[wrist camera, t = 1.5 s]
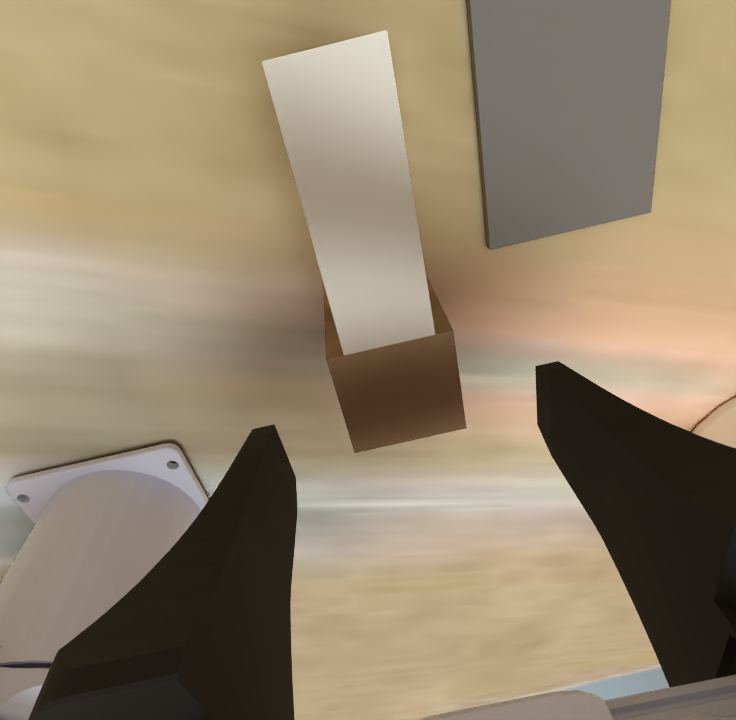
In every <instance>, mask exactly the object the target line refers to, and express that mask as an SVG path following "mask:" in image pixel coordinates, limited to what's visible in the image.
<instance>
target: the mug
mask: <svg viewBox="0 0 736 720" xmlns="http://www.w3.org/2000/svg"><path fill="white" fill-rule="evenodd" d="M692 433H694V434H697V435H699V436H702V437H704V438H707V439H710V440H712V441H715V442H718V443H721V444H724V445H727V446H730V447H733V448H736V397H734V398H733V399H731V400H729V401H728V402H726V403H724V404H723V405H721V406H719V407H718V408H717V409H716V410H715V411H713V412H712V413H711V414H710V415H709V416H708V417H706V418H705V419H704V420H703V421H702V422H700V423H699V424H698V425H697V427H696V428H695V429H694V430H693V431H692Z"/></svg>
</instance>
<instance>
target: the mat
mask: <svg viewBox="0 0 736 720" xmlns="http://www.w3.org/2000/svg"><path fill="white" fill-rule="evenodd" d="M466 2H467V14H468V26H469V37H470V49H471V61H472V73H473V85H474V96H475V108H476V120H477V132H478V144H479V155H480V167H481V179H482V191H483V203H484V214H485V226H486V238H487V247H488V248H489V249H490V250H492V249H496V248H501V247H505V246H509V245H513V244H518V243H522V242H526V241H530V240H535V239H539V238H543V237H548V236H552V235H556V234H560V233H565V232H569V231H573V230H578V229H582V228H586V227H590V226H595V225H599V224H603V223H608V222H612V221H616V220H620V219H625V218H629V217H633V216H638V215H642V214H646V213H650V212H651V207H652V196H653V186H654V175H655V165H656V154H657V144H658V133H659V123H660V112H661V102H662V91H663V81H664V70H665V60H666V49H667V39H668V28H669V18H670V7H671V0H466Z"/></svg>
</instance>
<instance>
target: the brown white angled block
mask: <svg viewBox="0 0 736 720" xmlns="http://www.w3.org/2000/svg"><path fill="white" fill-rule="evenodd" d="M262 65H263V68H264V72H265V75H266V79H267V83H268V86H269V90H270V93H271V97H272V100H273V104H274V108H275V111H276V115H277V118H278V122H279V125H280V129H281V133H282V136H283V140H284V143H285V147H286V150H287V154H288V158H289V161H290V165H291V168H292V172H293V175H294V179H295V183H296V186H297V190H298V193H299V197H300V200H301V204H302V208H303V211H304V215H305V218H306V222H307V225H308V229H309V233H310V236H311V240H312V243H313V247H314V250H315V254H316V258H317V261H318V265H319V268H320V272H321V275H322V279H323V285H324V310H325V336H326V360H327V363H328V366H329V370H330V373H331V376H332V379H333V383H334V386H335V389H336V393H337V396H338V399H339V403H340V406H341V409H342V412H343V416H344V419H345V422H346V426H347V429H348V432H349V435H350V439H351V442H352V445H353V449H354V452H355V453H357V452H361V451H366V450H370V449H375V448H379V447H384V446H388V445H393V444H397V443H402V442H406V441H411V440H415V439H420V438H424V437H429V436H433V435H438V434H442V433H447V432H451V431H456V430H460V429H465V428H466V422H465V415H464V408H463V400H462V393H461V385H460V378H459V371H458V363H457V356H456V349H455V341H454V334H453V329H452V327H451V325H450V323H449V321H448V319H447V317H446V315H445V313H444V311H443V309H442V307H441V305H440V303H439V301H438V299H437V297H436V295H435V293H434V291H433V289H432V287H431V285H430V283H429V281H428V278H427V276H426V273H425V266H424V260H423V254H422V247H421V241H420V235H419V228H418V222H417V216H416V210H415V203H414V197H413V191H412V184H411V178H410V172H409V165H408V159H407V153H406V147H405V140H404V134H403V128H402V121H401V115H400V109H399V102H398V96H397V90H396V83H395V77H394V71H393V65H392V58H391V52H390V46H389V39H388V33H387V30H385V31H381V32H377V33H373V34H369V35H365V36H361V37H357V38H353V39H349V40H345V41H341V42H337V43H333V44H329V45H325V46H321V47H317V48H313V49H309V50H305V51H301V52H297V53H293V54H289V55H285V56H281V57H277V58H273V59H269V60H265V61H262Z"/></svg>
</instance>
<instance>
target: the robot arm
mask: <svg viewBox="0 0 736 720" xmlns="http://www.w3.org/2000/svg"><path fill="white" fill-rule="evenodd" d="M536 395H537V424H538V427H539V429H540V431H541V433H542V436H543V438H544V440H545V443H546V445H547V447H548V449H549V451H550V453H551V455H552V457H553V459H554V460H555V462H556V464H557V465H558V467H559V469H560V470H561V472H562V473H563V475H564V477H565V478H566V480H567V482H568V483H569V485H570V486H571V488H572V489H573V491H574V493H575V494H576V496H577V497H578V499H579V501H580V502H581V504H582V505H583V507H584V509H585V510H586V512H587V513H588V515H589V517H590V518H591V520H592V521H593V523H594V525H595V526H596V528H597V530H598V532H599V533H600V535H601V537H602V539H603V541H604V543H605V545H606V547H607V549H608V551H609V553H610V555H611V557H612V559H613V561H614V563H615V565H616V567H617V569H618V571H619V573H620V576H621V578H622V580H623V582H624V584H625V586H626V588H627V591H628V593H629V595H630V597H631V599H632V601H633V603H634V606H635V608H636V610H637V612H638V614H639V617H640V619H641V621H642V624H643V626H644V628H645V630H646V633H647V635H648V637H649V639H650V642H651V644H652V646H653V648H654V651H655V653H656V655H657V658H658V660H659V663H660V665H661V667H662V670H663V672H664V674H665V677H666V679H667V682H668V684H669V686H670V688H665V689H660V690H655V691H650V692H645V693H640V694H635V695H630V696H625V697H620V698H615V699H610V700H603V699H602V698H600V697H598V696H596V695H593V694H589V693H586V692H582V691H579V690H573V691H559V692H550V693H545V694H540V695H535V696H530V697H524V698H519V699H514V700H509V701H504V702H499V703H494V704H489V705H484V706H479V707H474V708H469V709H464V710H459V711H454V712H449V713H444V714H439V715H434V716H429V717H426V718H423V719H420V720H736V448H733V447H730V446H727V445H724V444H721V443H718V442H715V441H712V440H710V439H707V438H704V437H702V436H699V435H697V434H694V433H692V432H689V431H687V430H684V429H682V428H680V427H677V426H675V425H672V424H670V423H668V422H666V421H664V420H661V419H659V418H657V417H655V416H653V415H651V414H649V413H647V412H645V411H643V410H641V409H639V408H637V407H635V406H633V405H632V404H630V403H628V402H626V401H624V400H622V399H620V398H619V397H617V396H615V395H613V394H612V393H610V392H608V391H606V390H605V389H603V388H601V387H600V386H598V385H596V384H595V383H593V382H591V381H590V380H588V379H586V378H585V377H583V376H582V375H580V374H578V373H577V372H575V371H573V370H572V369H570V368H569V367H567V366H565V365H564V364H562V363H560V362H559V361H557V362H553V363H548V364H544V365H539V366H536ZM170 461H175V462H177V463H172V462H170ZM5 490H6V492H7V493H8V494H9V496H10V497H11V498H12V499H13V500H14V501H15V503H16V504H17V505H18V506H19V507H20V508H21V510H22V511H23V512H24V513H25V514H26V515H27V517H28V518H29V519H30V520H31V521H32V522H33V523H34V527H33V529H32V531H31V532H30V534H29V536H28V537H27V539H26V541H25V543H24V544H23V546H22V548H21V549H20V551H19V553H18V555H17V556H16V558H15V560H14V561H13V563H12V565H11V566H10V568H9V570H8V572H7V573H6V575H5V577H4V578H3V580H2V582H1V584H0V720H294V704H293V685H292V659H291V620H290V598H291V580H292V569H293V557H294V546H295V534H296V521H297V491H296V477H295V474H294V472H293V469H292V467H291V464H290V462H289V459H288V457H287V454H286V452H285V449H284V447H283V445H282V442H281V440H280V437H279V435H278V432H277V430H276V427H275V425H270V426H265V427H261V428H256V429H253V430H252V431H251V433H250V434H249V436H248V438H247V439H246V441H245V443H244V444H243V446H242V448H241V450H240V451H239V453H238V455H237V456H236V458H235V460H234V461H233V463H232V465H231V466H230V468H229V470H228V471H227V473H226V474H225V476H224V478H223V479H222V481H221V482H220V484H219V486H218V487H217V489H216V490H215V492H214V493H213V495H212V496H211V498H210V499H209V500H208V498H207V496H206V494H205V492H204V491H203V489H202V487H201V485H200V483H199V482H198V480H197V478H196V476H195V474H194V473H193V471H192V469H191V467H190V465H189V464H188V462H187V460H186V458H185V456H184V455H183V453H182V451H181V449H180V448H179V447H178V446H177V445H175V444H171V443H165V444H161V445H156V446H152V447H147V448H143V449H139V450H134V451H130V452H125V453H121V454H116V455H112V456H108V457H103V458H99V459H94V460H90V461H85V462H81V463H76V464H72V465H68V466H63V467H59V468H54V469H50V470H45V471H41V472H37V473H32V474H28V475H23V476H19V477H14V478H12V479H10V481H9V482H8V483H7V485H6V486H5ZM26 495H27V496H26Z"/></svg>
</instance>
